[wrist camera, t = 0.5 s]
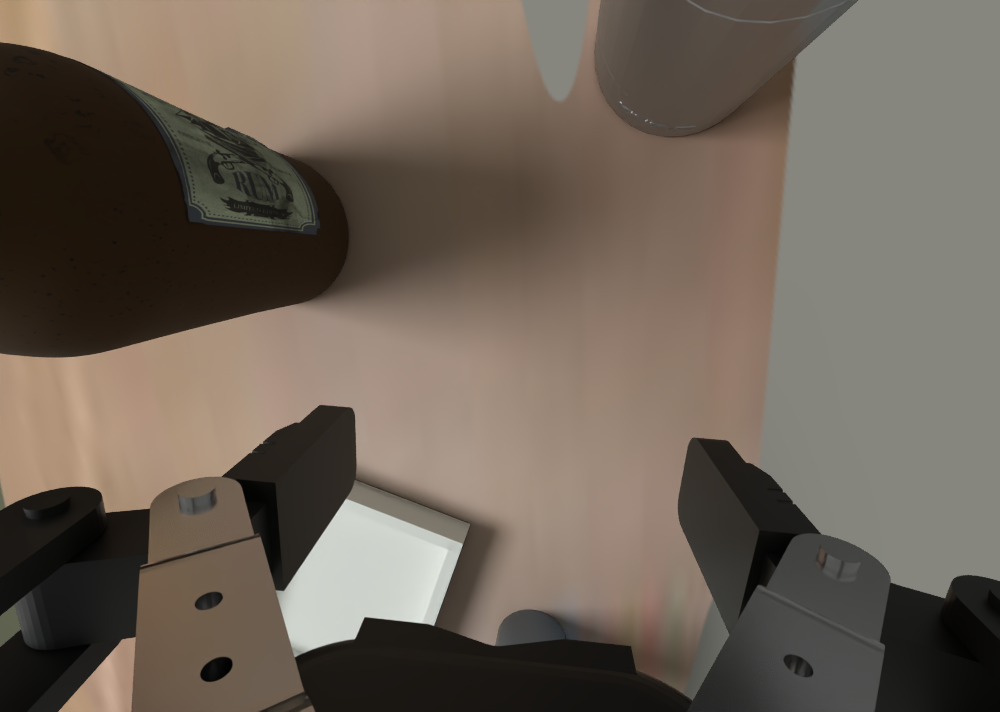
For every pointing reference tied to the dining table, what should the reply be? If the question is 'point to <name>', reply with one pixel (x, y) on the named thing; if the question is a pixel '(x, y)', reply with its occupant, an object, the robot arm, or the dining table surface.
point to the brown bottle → (142, 215)
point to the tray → (372, 569)
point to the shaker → (528, 628)
